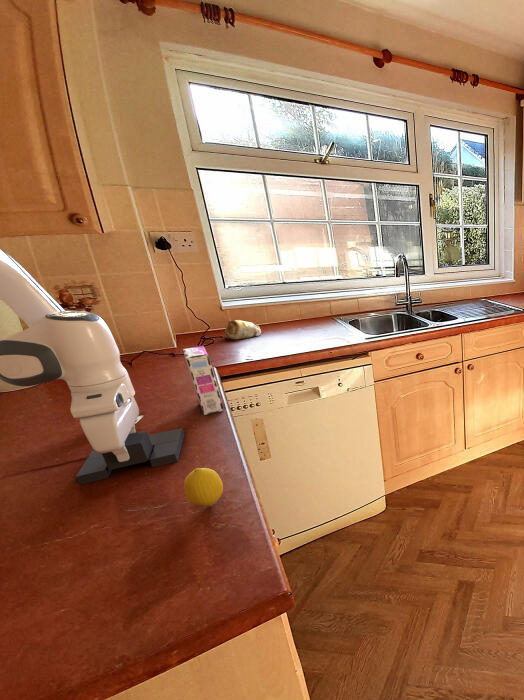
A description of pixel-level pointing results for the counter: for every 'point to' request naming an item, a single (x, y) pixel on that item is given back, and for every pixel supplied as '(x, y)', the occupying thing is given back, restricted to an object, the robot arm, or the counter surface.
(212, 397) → the candy bar box
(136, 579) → the counter surface
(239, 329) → the pastry
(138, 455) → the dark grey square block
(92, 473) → the base pad
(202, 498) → the lemon
